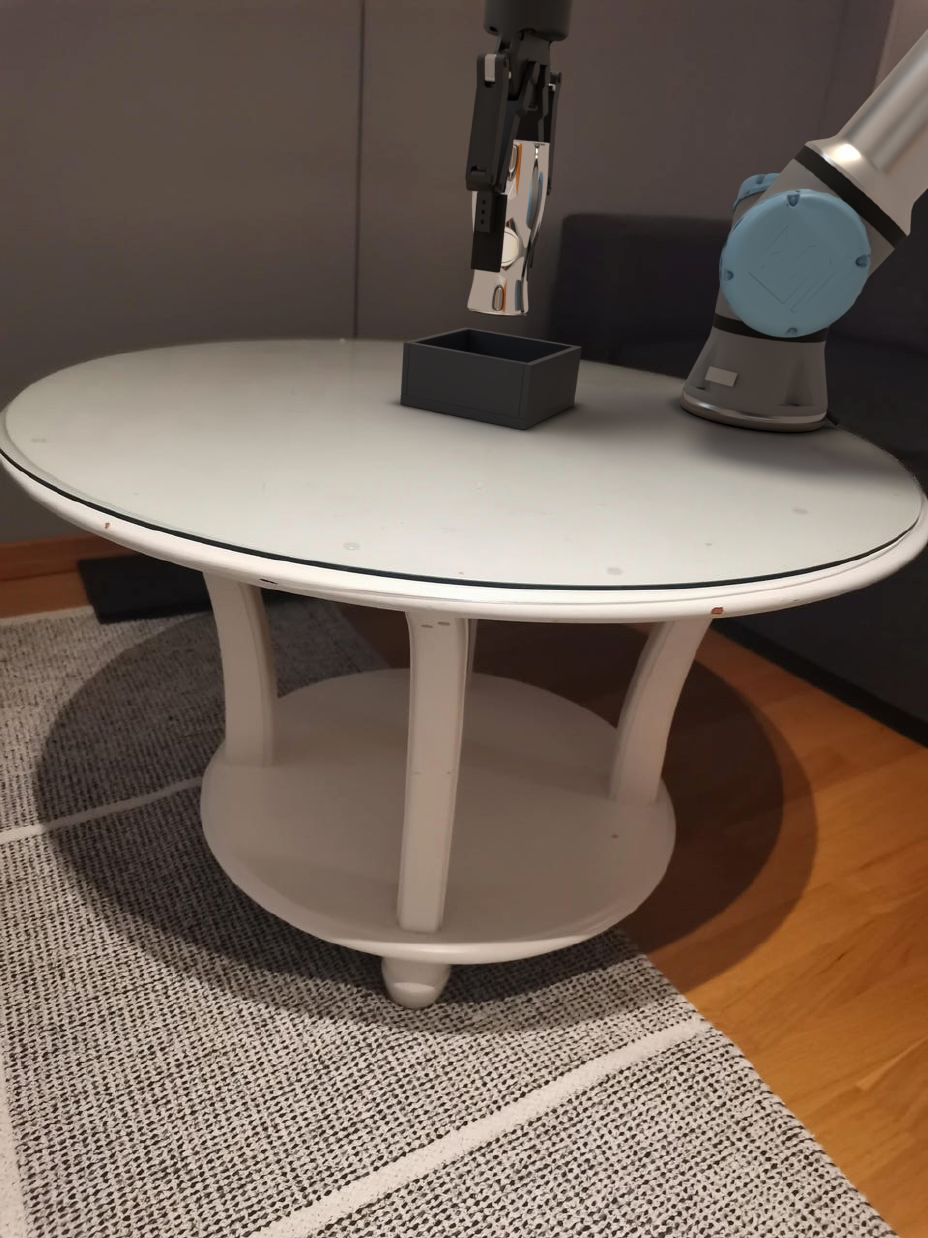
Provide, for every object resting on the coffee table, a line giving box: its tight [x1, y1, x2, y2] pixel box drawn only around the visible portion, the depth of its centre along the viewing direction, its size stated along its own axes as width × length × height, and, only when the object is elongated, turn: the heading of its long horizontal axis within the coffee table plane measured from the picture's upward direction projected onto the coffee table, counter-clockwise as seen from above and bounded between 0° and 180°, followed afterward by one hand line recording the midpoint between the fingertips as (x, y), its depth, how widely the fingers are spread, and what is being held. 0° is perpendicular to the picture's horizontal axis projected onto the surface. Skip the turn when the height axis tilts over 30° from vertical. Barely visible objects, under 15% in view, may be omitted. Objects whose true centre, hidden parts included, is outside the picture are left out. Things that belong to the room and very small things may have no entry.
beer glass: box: [466, 139, 550, 318], centre depth 89 cm, size 7×7×15 cm
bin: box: [399, 326, 583, 431], centre depth 95 cm, size 13×13×6 cm
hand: (502, 267), depth 90 cm, fingers closed on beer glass, 7 cm apart
